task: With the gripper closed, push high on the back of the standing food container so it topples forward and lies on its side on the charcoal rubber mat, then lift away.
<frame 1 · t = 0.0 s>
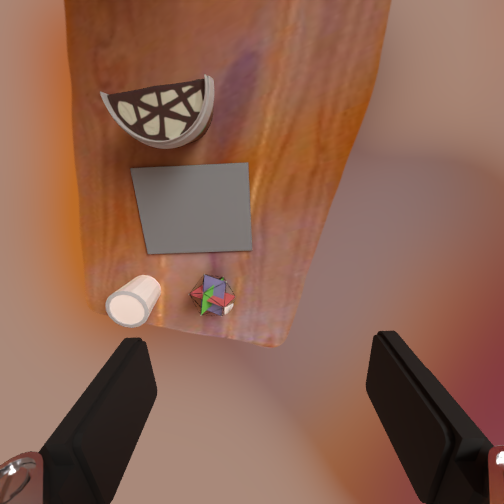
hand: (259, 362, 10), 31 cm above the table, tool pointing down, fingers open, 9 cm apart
shot glass: (146, 288, 44), on the table
food container: (185, 129, 35), on the table
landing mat: (195, 210, 39), on the table
geometric puzzle: (215, 285, 44), on the table
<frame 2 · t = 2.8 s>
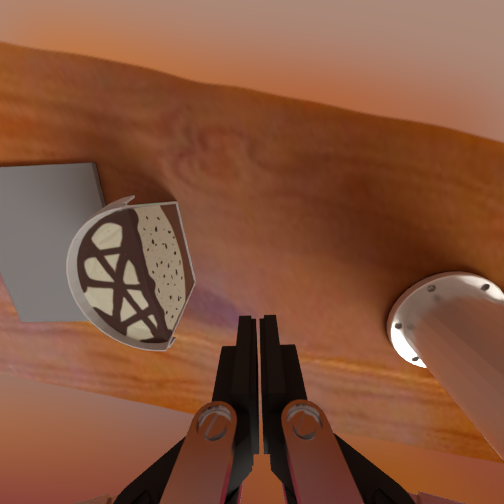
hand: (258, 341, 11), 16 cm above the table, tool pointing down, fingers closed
food container: (161, 246, 27), on the table
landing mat: (56, 250, 27), on the table
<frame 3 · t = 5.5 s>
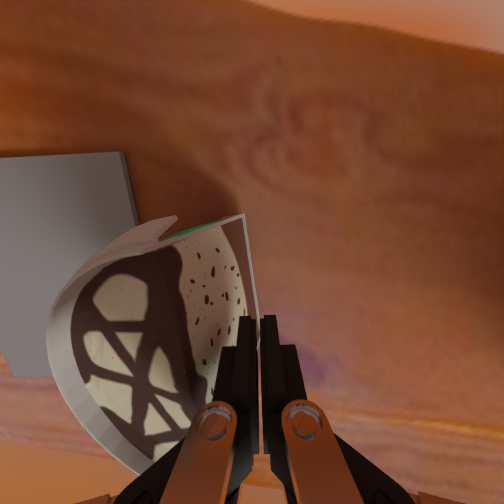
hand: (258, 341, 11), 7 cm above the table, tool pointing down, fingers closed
food container: (215, 277, 18), on the table, touching gripper
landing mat: (62, 281, 19), on the table
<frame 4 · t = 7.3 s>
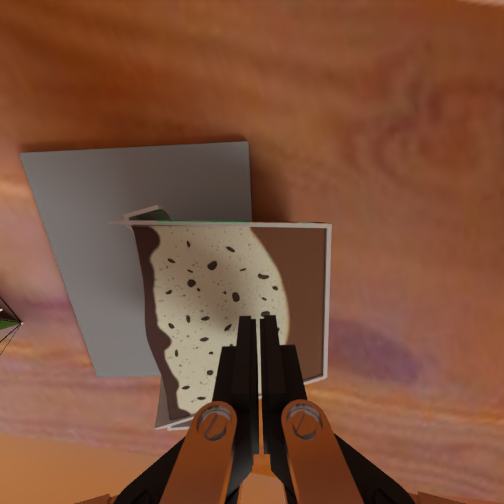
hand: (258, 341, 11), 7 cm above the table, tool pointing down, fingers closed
food container: (308, 285, 16), point 2 cm above the table, touching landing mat
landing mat: (161, 278, 18), on the table
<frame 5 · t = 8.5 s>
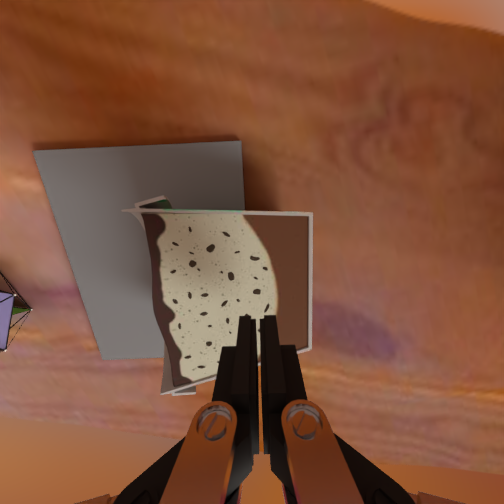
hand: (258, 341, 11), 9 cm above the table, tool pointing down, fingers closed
food container: (296, 270, 18), point 2 cm above the table, touching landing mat
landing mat: (162, 265, 20), on the table
geometric puzzle: (6, 292, 21), on the table
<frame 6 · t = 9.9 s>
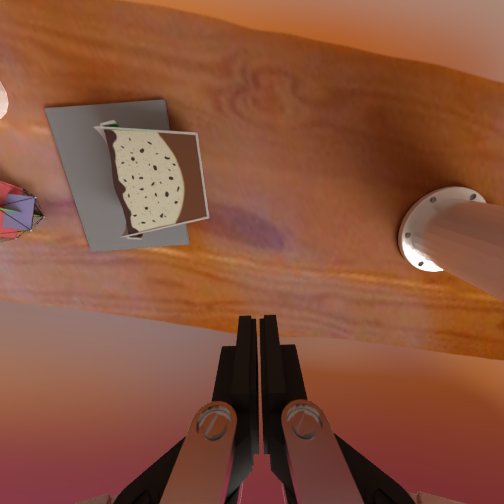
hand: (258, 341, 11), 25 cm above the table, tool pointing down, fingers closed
food container: (203, 178, 30), point 2 cm above the table, touching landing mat
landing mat: (126, 182, 32), on the table
geometric puzzle: (27, 205, 33), on the table
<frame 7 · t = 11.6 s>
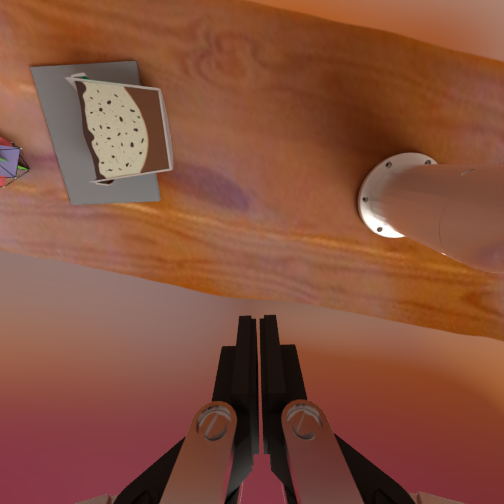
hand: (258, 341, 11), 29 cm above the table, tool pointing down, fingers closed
food container: (170, 135, 33), point 2 cm above the table, touching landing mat
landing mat: (102, 140, 35), on the table
geometric puzzle: (16, 159, 36), on the table
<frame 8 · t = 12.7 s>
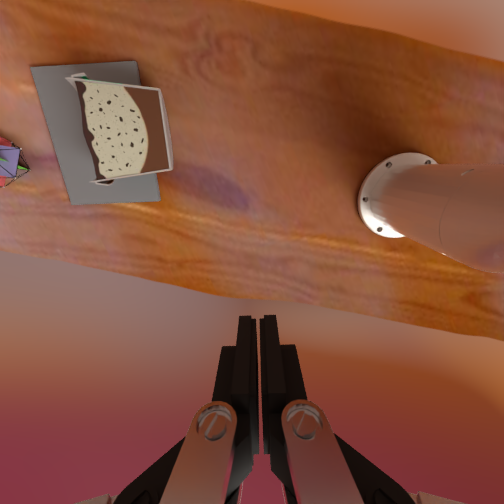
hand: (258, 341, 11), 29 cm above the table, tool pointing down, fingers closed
food container: (170, 135, 33), point 2 cm above the table, touching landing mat
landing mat: (102, 140, 35), on the table
geometric puzzle: (16, 159, 36), on the table
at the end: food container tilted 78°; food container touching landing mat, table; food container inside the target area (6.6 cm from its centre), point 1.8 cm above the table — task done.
